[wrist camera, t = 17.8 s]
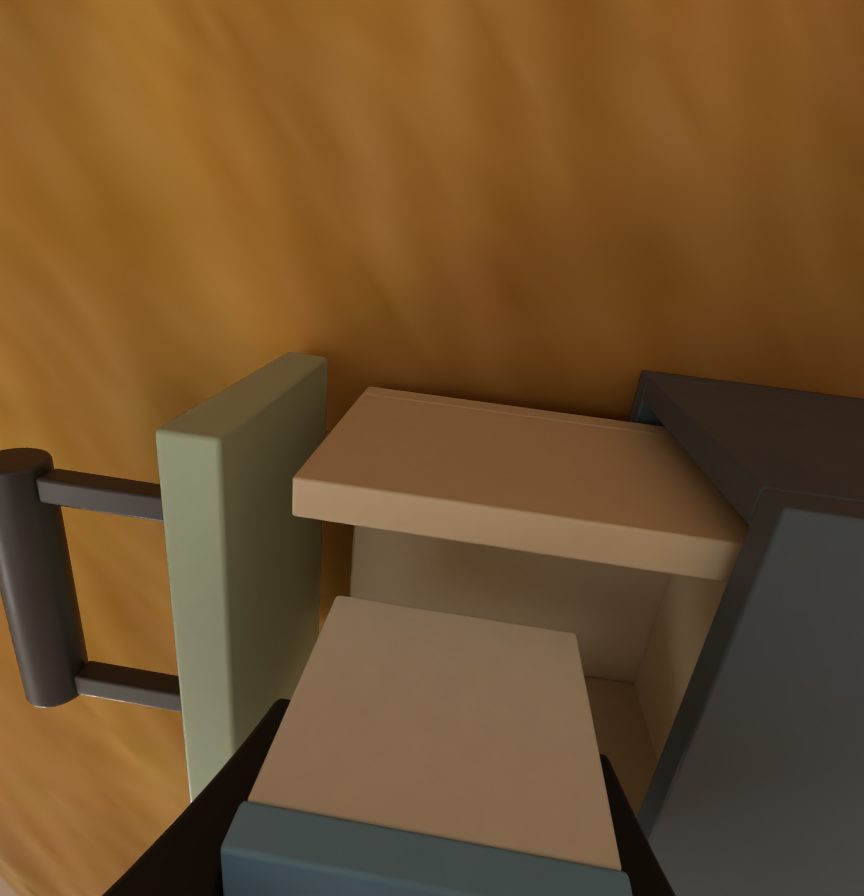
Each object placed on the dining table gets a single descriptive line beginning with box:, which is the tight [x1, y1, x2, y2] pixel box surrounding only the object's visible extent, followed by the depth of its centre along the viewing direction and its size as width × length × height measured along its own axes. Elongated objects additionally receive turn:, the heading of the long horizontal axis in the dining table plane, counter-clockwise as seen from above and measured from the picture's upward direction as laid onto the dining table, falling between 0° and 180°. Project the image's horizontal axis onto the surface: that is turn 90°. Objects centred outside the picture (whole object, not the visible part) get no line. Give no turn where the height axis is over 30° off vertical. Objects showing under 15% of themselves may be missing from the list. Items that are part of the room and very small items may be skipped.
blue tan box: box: [221, 596, 633, 896], centre depth 9 cm, size 5×5×5 cm
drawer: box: [0, 352, 750, 818], centre depth 14 cm, size 17×10×6 cm, turn 84°
